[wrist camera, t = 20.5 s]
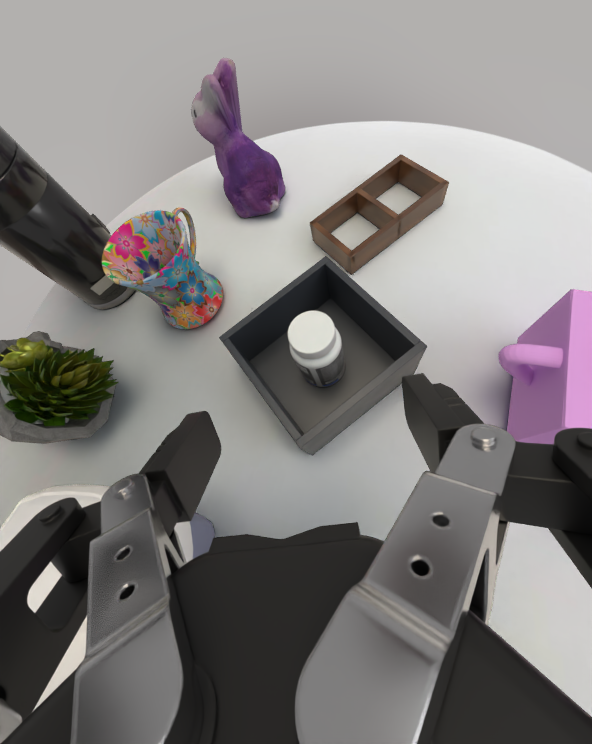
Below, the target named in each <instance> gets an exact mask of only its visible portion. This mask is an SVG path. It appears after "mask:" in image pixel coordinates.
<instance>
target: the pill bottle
mask: <svg viewBox="0 0 592 744" xmlns="http://www.w3.org/2000/svg"><path fill="white" fill-rule="evenodd" d="M288 340H289V342H290V352H291V355H292V357H293V359H294V361H295V362H296V364H297V366H298V367H299V369H300V371H301V373H302V374H303V376H304V378H305V379H306V380H307V381H308V382H309V383H310V384H312V385H314V386H318V387H328V386H331V385H333V384H335V383H336V382H338V381H339V380H340V378H341V377H342V375H343V373H344V370H345V360H344V353H343V348H342V340H341V336H340V334H339V332H338V330H337V329H336V328H335V326H334V323H333V321H332V320H331V318H330V317H329V316H328V315H326V314H325V313H323V312H320V311H307V312H304V313H301V314H300V315H298V316H297V317H295V318H294V319H293V321H292V322H291V324H290V326H289V328H288Z"/></svg>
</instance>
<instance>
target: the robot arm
mask: <svg viewBox="0 0 592 744" xmlns="http://www.w3.org/2000/svg"><path fill="white" fill-rule="evenodd" d="M110 237H111V235H110V232H109V231H108V229H107V228H106V226H105V225H104V224H103V223H102V222H101V221H100V220H99V219H98V218H97V217H96V216H95V215H94V214H92V215H90V214H89V213H88V212H87V211H86V210H85V209H84V208H82V207H81V205H79V204H78V203H77V202H76V201H75V200H74V199H73V198H72V197H71V196H70V195H69V194H68V193H67V192H66V191H65V190H64V189H63V188H62V187H61V186H60V185H59V184H58V183H57V182H56V181H55V180H54V179H53V178H52V177H51V176H50V175H49V174H48V173H47V172H46V171H45V170H44V169H43V168H42V167H41V166H40V165H39V164H38V163H37V162H36V161H35V160H34V159H33V158H32V157H31V156H30V155H29V154H28V153H27V152H26V151H25V150H24V149H23V148H22V147H21V146H20V145H19V144H18V143H16V141H15V140H14V139H13V138H12V137H11V136H10V135H9V134H8V133H6V131H5V130H4V129H2V127H0V245H1V246H2V247H4V248H5V249H7V250H8V251H10V252H11V253H13V254H14V255H16V256H17V257H19V258H20V259H22V260H23V261H25V262H26V263H28V264H29V265H31V266H32V267H34V268H35V269H37V270H38V271H40V272H42V273H43V274H44V275H46V276H47V277H49V278H50V279H52V280H54V281H55V282H57V283H58V284H60V285H61V286H63V287H64V288H66V289H67V290H68V291H70V292H72V293H73V294H75V295H76V296H78V297H79V298H81V299H82V300H83V301H84V302H85V303H87V304H88V305H90V306H91V307H93V308H96V309H109V308H112V307H115V306H117V305H119V304H121V303H122V302H124V301H125V300H126V299H128V298H129V297H130V296H131V295H132V293H133V292H134V291H135V289H132V288H129V287H126V286H122V285H119V284H116V283H114V282H113V281H111V280H110V279H109V278H108V277H107V276H106V274H105V273H104V270H103V267H102V255H103V251H104V248H105V246H106V244H107V242H108V240H109V239H110ZM402 388H403V398H404V408H405V416H406V420H407V424H408V426H409V429H410V431H411V433H412V435H413V437H414V439H415V441H416V443H417V445H418V447H419V449H420V451H421V453H422V455H423V457H424V459H425V461H426V463H427V465H428V467H429V469H430V471H431V472H430V471H425V472H424V473H423V474H422V476H421V477H420V479H419V481H418V482H417V484H416V486H415V488H414V490H413V491H412V493H411V495H410V497H409V498H408V500H407V502H406V504H405V506H404V507H403V509H402V511H401V513H400V514H399V516H398V518H397V520H396V522H395V523H394V525H393V527H392V529H391V530H390V532H389V534H388V536H387V538H386V539H385V541H382V540H379V539H376V538H373V537H369V536H363V535H360V531H359V526H358V522H356V523H346V524H337V525H328V526H320V527H317V528H314V529H311V530H308V531H305V532H303V533H300V534H297V535H294V536H291V537H288V538H285V539H274V538H267V537H261V536H255V535H248V534H245V535H236V536H226V537H217V538H213V540H212V543H211V546H210V549H209V552H206V553H204V554H201V555H199V556H197V557H195V558H194V559H192V560H190V561H189V562H186V559H185V556H184V552H183V549H182V546H181V543H180V540H179V537H178V534H177V532H176V531H175V529H174V527H175V525H176V523H180V522H189V521H191V520H192V518H193V516H194V514H195V511H196V509H197V507H198V505H199V502H200V500H201V498H202V495H203V493H204V491H205V489H206V486H207V484H208V482H209V480H210V477H211V475H212V473H213V471H214V468H215V466H216V464H217V462H218V459H219V457H220V454H221V443H220V440H219V437H218V435H217V432H216V430H215V427H214V425H213V422H212V420H211V417H210V415H209V413H208V412H206V411H202V412H196V413H191V414H187V415H186V417H185V418H184V419H183V421H182V422H181V423H180V425H179V426H178V427H177V428H176V429H175V430H174V431H172V432H171V433H170V434H169V435H167V437H166V438H165V439H164V441H163V442H162V443H161V445H160V446H159V447H158V449H157V450H156V453H154V454H153V455H152V456H151V458H150V459H149V460H148V462H147V463H146V464H145V466H144V467H143V468H142V470H141V471H140V472H139V474H133V475H130V476H127V477H125V478H123V479H121V480H119V481H118V482H116V483H115V484H113V485H112V486H111V487H110V488H109V489H108V490H107V491H106V492H105V493H104V494H103V496H102V498H101V501H99V502H97V503H94V504H91V505H88V506H86V507H83V508H82V507H81V505H80V504H79V502H78V501H77V500H76V499H75V498H73V497H69V498H64V499H61V500H59V501H56V502H54V503H52V504H51V505H49V506H47V507H46V508H44V509H43V510H41V511H40V512H39V513H38V514H36V515H35V516H34V517H33V518H32V519H31V520H30V521H29V522H28V523H27V524H26V525H25V526H24V527H23V528H22V529H21V531H20V532H19V533H18V534H17V535H16V536H15V537H14V538H13V539H12V540H11V541H10V542H9V543H8V544H7V545H6V546H5V547H4V548H3V549H2V550H1V551H0V744H592V717H591V716H590V715H589V714H588V713H586V712H585V711H584V710H583V709H582V708H581V707H580V706H579V705H577V704H576V703H575V702H574V701H573V700H572V699H571V698H569V697H568V696H567V695H566V694H565V693H564V692H563V691H561V690H560V689H559V688H558V687H557V686H556V685H555V684H553V683H552V682H551V681H550V680H549V679H548V678H547V677H546V676H544V675H543V674H542V673H541V672H540V671H539V670H538V669H536V668H535V667H534V666H533V665H532V664H531V663H530V662H528V661H527V660H526V659H525V658H524V657H523V656H522V655H521V654H519V653H518V652H517V651H516V650H515V649H514V648H513V647H511V646H510V645H509V644H508V643H507V642H506V641H505V640H503V639H502V638H501V637H500V636H499V635H498V634H497V633H496V632H494V631H493V630H492V629H491V628H490V627H489V626H488V624H489V620H490V615H491V610H492V605H493V599H494V592H495V585H496V579H497V574H498V570H499V566H500V562H501V557H502V553H503V549H504V545H505V540H506V536H507V532H508V528H509V524H510V522H514V523H520V524H526V525H533V526H539V527H545V528H548V529H549V530H550V531H551V533H552V534H553V536H554V537H555V538H556V540H557V541H558V542H559V544H560V545H561V547H562V548H563V549H564V551H565V552H566V553H567V555H568V556H569V558H570V559H571V560H572V562H573V563H574V565H575V566H576V567H577V569H578V570H579V571H580V573H581V574H582V576H583V577H584V578H585V580H586V581H587V582H588V584H589V585H590V587H591V588H592V429H590V428H569V429H565V430H562V431H560V432H558V433H557V434H556V435H555V438H554V444H539V443H525V442H518V441H515V439H514V438H513V436H512V435H511V434H510V433H508V432H507V431H505V430H504V429H501V428H499V427H496V426H492V425H487V424H484V423H483V422H482V421H481V420H480V418H479V417H478V416H477V415H476V414H475V413H474V412H473V411H472V410H471V409H470V408H469V406H468V405H467V404H465V402H464V401H463V400H462V399H461V398H459V396H458V394H457V393H456V392H455V391H454V390H453V389H452V388H450V387H448V386H445V385H443V384H441V383H438V384H431V382H430V381H429V380H428V379H427V377H426V376H425V375H424V374H423V373H421V374H415V375H409V376H404V377H402ZM50 562H51V563H52V564H53V565H54V566H55V567H56V569H57V570H58V571H59V572H60V574H61V575H62V576H61V577H60V579H59V580H58V581H57V583H56V584H55V586H54V587H53V588H52V590H51V591H50V593H49V594H48V596H47V597H46V598H45V600H44V601H43V603H42V604H41V605H40V607H39V608H38V610H37V611H36V612H35V613H34V612H33V611H32V610H31V609H30V607H29V606H28V603H27V597H28V593H29V590H30V588H31V587H32V585H33V584H34V582H35V581H36V580H37V578H38V577H39V576H40V575H41V573H42V572H43V571H44V569H45V568H46V567H47V566H48V564H49V563H50ZM86 616H87V630H86V653H85V657H84V659H83V661H82V662H81V663H80V664H79V666H78V668H77V669H76V670H74V671H73V672H72V673H71V674H70V675H69V676H68V677H67V678H66V679H65V680H64V681H63V682H62V683H61V684H60V685H59V686H58V687H57V688H56V689H55V690H54V691H53V692H52V693H51V694H50V695H49V696H48V697H47V698H46V699H45V700H44V701H43V702H42V703H41V704H40V705H39V706H38V707H37V708H36V709H35V710H34V708H35V706H36V705H37V703H38V701H39V699H40V697H41V696H42V694H43V692H44V690H45V689H46V687H47V685H48V683H49V682H50V680H51V678H52V676H53V674H54V673H55V671H56V669H57V667H58V666H59V664H60V662H61V660H62V659H63V657H64V655H65V653H66V651H67V650H68V648H69V646H70V644H71V643H72V641H73V639H74V637H75V636H76V634H77V632H78V630H79V629H80V627H81V625H82V623H83V621H84V620H85V618H86ZM33 710H34V711H33Z"/></svg>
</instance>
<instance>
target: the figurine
mask: <svg viewBox="0 0 592 744" xmlns="http://www.w3.org/2000/svg"><path fill="white" fill-rule="evenodd" d="M191 114H192V118H193V123H194V125H195V128H196V129H197V131H198V132H199V133H200V134H201V135H202V136H203V137H204V138H205V139H206V140H208V141H209V142H210V143H212V144H213V145H214V149H215V155H216V161H217V165H218V168H219V170H220V172H221V174H222V176H223V177H224V184H223V185H224V191H225V194H226V196H227V198H228V200H229V201H230V203H231V204H232V206H233V208H234V210H235V211H236V213H237V214H238V215H239V216H240V217H243V218H248V217H251V216H259V215H264V214H268V213H271V212H273V211H275V210H276V209H277V208H278V207H279V205H280V202H279V200H280V198H281V197H282V196H283V195H284V193H285V186H284V182H283V178H282V173H281V168H280V166H279V163H278V161H277V160H276V159H275V157H274V156H273V155H272V154H270V153H269V152H267V151H264V150H263V149H261V148H260V147H259V146H258V145H257V144H255V143H254V142H253V141H252V140H250V139H249V138H248V137H247V136H246V135H245V134H243V132H242V125H241V116H240V106H239V98H238V87H237V78H236V68H235V63H234V62H233V61H232V60H231V59H228V58H222V59H221V60H220V61H219V63H218V65H217V67H216V69H215V71H214V73H213V75H207V76H205V77H204V78H203V81H202V86H201V91H200V92H199V93H197V95H196V96H195V98H194V100H193V103H192V109H191Z"/></svg>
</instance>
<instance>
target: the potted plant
mask: <svg viewBox="0 0 592 744" xmlns="http://www.w3.org/2000/svg"><path fill="white" fill-rule="evenodd" d="M102 358H103V356H102V357H99V356H96V355H94V348H93V349H91V350H89V351H87V352H86V351H84V350H81V349H76V348H71V347H65V346H62V344H61V343H57V342H54V341H51V339H50V337H49V335H48V333H44V332H40V331H38V332H33V333H32V334H31V335H30V336H28V337H26V338H19V339H17V340H0V435H1V436H3V437H5V438H7V439H9V440H11V441H16V442H29V443H42V444H45V443H52V442H59V441H66V440H73V439H80V438H87V437H90V436H92V435H93V434H94V433H95V432H96V431H97V430H98V429H99V428H100V427H101V426H103V425H104V424H105V423H106V422H107V421H108V416H109V412H110V408H111V404H112V399H113V397H114V396H113V395H114V391H115V387H116V386H115V384H117V383H118V382H114V381H115V380H117V379H115V380H113V379H112V377H111V376H112V375H113V374H109V372H110V371H111V370H112V369H113V368H114V367H113V368H111V367H110V366H111V364H112V362H113V361H114V360H112V361H105V362H102ZM109 367H110V368H109Z"/></svg>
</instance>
